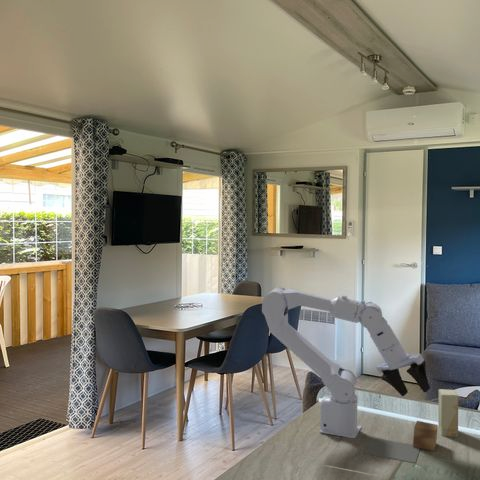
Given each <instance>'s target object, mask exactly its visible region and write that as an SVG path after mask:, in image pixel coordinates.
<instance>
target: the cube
mask: <svg viewBox="0 0 480 480" xmlns="http://www.w3.org/2000/svg"><path fill="white" fill-rule="evenodd" d="M413 428H414V430H413V442H412V444H413V447H417V448H420V449H423V450H427V451H431V452H435V450H436V445H437V439H438V437H437V436H438V435H437V434H438V424H434V423H430V422H426V421H425V422H424V421H420V420H416V422H415V425H414V427H413Z"/></svg>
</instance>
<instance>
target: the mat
mask: <svg viewBox="0 0 480 480" xmlns="http://www.w3.org/2000/svg"><path fill="white" fill-rule="evenodd" d="M420 449H421V448H417V447H413V443H406V442H399V441H393V440H389V439H382V438H377V437H372V438H371V439H370V441H369V442H368V445H367V446H366V448H365V450H364V452H363V455H367V456H372V457H373V456H374V457H377V458H378V457H379V458H385V459H389V460H390V459H391V460H396V461H402V462H406V463H411V464H416V463H417V460H418V457H419V452H420Z"/></svg>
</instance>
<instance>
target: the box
mask: <svg viewBox="0 0 480 480" xmlns="http://www.w3.org/2000/svg"><path fill="white" fill-rule="evenodd" d="M437 419H438V420H437V421H438V424H437V425H438V427H437V430H438V432H439V434H440V435H441V437H453V438H454V437H459V394H458V393H457V391H456V389H442V388H439V389H438V418H437Z"/></svg>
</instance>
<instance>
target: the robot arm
mask: <svg viewBox="0 0 480 480" xmlns="http://www.w3.org/2000/svg"><path fill="white" fill-rule="evenodd" d="M261 304H262V305H261V313H262V314H263V315H264V318H265V321H266V323H267V324H266V325H267V327H268V329H269V332H270V333H271V334H272V336H274V337H275V338H276V339H277V340H279V342H280V343H281V344H283V346H285V347H286V348H287V349H288V350H290V351H291V352H292V353H293V354H294V355H295V356H296V357H298V359H300V360H301V361H302V362H303V363H304V364H305V365H306V366H308V367H309V369H311V370H312V371H313V372H314V373H315V374H316V375H318V377H319V378H320V380H321V381H322V383H323V385H324V387H326V388H327V389H328V390H329V392H330V395H324V396H323V397H322V399H321V403H320V429H319V433H321V434H327V435H332V436H338V437H344V438H350V439H356V437H357V436H358V434H359V433H360V430H361V429H362V426H361V425H358V396H357V395H356V386H357V377H356V375H355V373H354V372H353V371H351V369H350V370H349V369H347V368H343V367H342V366H341V365H340V364H338V363H337V362H333V361H332V360H330V359H329V358H328V357H327V356H326V355H325V354H324V353H322V352H321V350H319V349H318V348H317V347H316V346H315V345H313V344H312V343H311V342H310V341H309V340H308V339H307V338H305V336H303V335H302V333H300V332H298V331H297V330H296V328H294V327H293V326H292V325H291V324H290V323H289V310H291V309H294V308H297V307H305V308H310V309H315V310H319V311H324V312H325V311H326V312H328V313H330V315H331V316H332V317H333V318H335V319H338V320H339V319H340V320H343V321H346V322H351V323H355V324H357V323H360V325H361V326H362V327H364V328H365V329H366V331H368V333H369V335H370V336H369V337H370V338H371V340H372V341H373V343H374V345H375V347H376V348H377V350H378V353H380V355H381V357H382V359H383V361H384V362H382V363H379V364H378V365H377V366H376V370H377V371H378V373H379V374H382V375H381V376H380V378H381V380H383V381H384V382H386V383H388V384H389V385H390V386H391V387H393V389H395V391H396V392H397V393H398V394H399V395H400V396H401V397H405V396H406V395H407V394H408V393H409V391H408V388H407V386H406V385H405V382H404V380H403V378H402V376H401V372H400V371H399V369H402V368H406V367H409V368H407V370H406V372H407V373H408V374H409V375H410V376H411V377H412V378H413V379H414V380H415V382H416V383H417V385H418V386H419V388H420V390H422V392H423V393H427V392H428V391H429V390H430V389H431V386H430V383H429V380H428V376H427V369H426V368H427V367H426V364H427V363H426V362H427V361H425V358H424V357H423V355H422V354H421V353H418V354H409V353H408V352H407V353H406V351H405V349H404V347H403V346H402V345H401V343H400V341H399V339H398V338H397V336H396V334H395V332H394V330H393V329H392V327H391V325H389V324H388V321H387V319H386V318H385V317H384V316H383V312H382V311H383V310H382V309H381V307H380V306H379V305H378V304H377V303H374V302H372V301H367V302H366V300H364V299H363V300H362V299H361V301H358V300H355V299H351V298H348V295H342V296H336V297H334V298H333V299H330V298H327V297H323V296H320V295H315V294H312V293H309V292H305V291H301V290H298V289H293V288H284V287H282V286H279V287H275V288H273V289H272V290H270V292H267V293H266V294H265V295H264V296H263V298H262V300H261Z"/></svg>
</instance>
